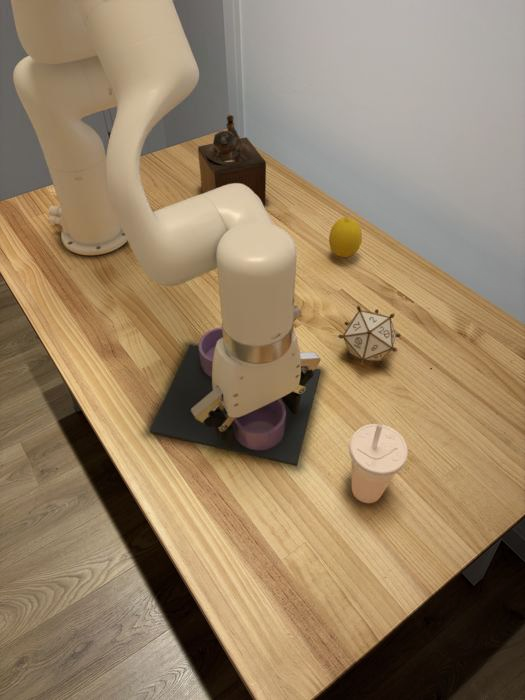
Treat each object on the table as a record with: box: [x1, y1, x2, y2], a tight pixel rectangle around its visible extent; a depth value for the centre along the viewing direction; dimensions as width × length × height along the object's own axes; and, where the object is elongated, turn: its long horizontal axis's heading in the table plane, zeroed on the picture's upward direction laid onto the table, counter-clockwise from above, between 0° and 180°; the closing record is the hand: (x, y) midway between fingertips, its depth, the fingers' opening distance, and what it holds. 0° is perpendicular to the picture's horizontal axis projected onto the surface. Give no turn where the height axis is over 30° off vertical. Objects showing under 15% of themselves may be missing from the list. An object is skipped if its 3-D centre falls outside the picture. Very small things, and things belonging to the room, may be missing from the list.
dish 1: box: [198, 326, 223, 377], centre depth 80 cm, size 7×7×4 cm
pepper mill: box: [197, 114, 267, 206], centre depth 102 cm, size 16×11×18 cm
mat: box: [149, 343, 321, 467], centre depth 77 cm, size 20×16×1 cm
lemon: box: [328, 217, 363, 258], centre depth 95 cm, size 6×6×8 cm
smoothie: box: [348, 422, 409, 504], centre depth 63 cm, size 6×6×14 cm
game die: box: [337, 304, 402, 367], centre depth 79 cm, size 9×8×10 cm
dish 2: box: [233, 398, 286, 450], centre depth 72 cm, size 7×7×4 cm
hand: (258, 421), depth 72 cm, fingers open, 9 cm apart
